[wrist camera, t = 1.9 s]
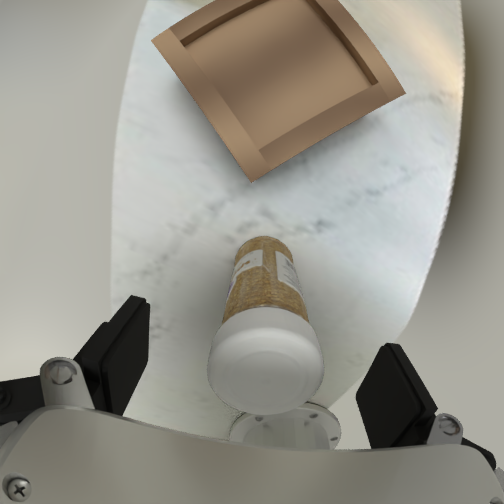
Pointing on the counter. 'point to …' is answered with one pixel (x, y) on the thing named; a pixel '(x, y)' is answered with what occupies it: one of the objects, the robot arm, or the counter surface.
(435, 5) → the counter surface
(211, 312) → the counter surface
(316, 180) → the counter surface
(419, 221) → the counter surface
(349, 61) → the wooden box
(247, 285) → the sprinkles bottle
